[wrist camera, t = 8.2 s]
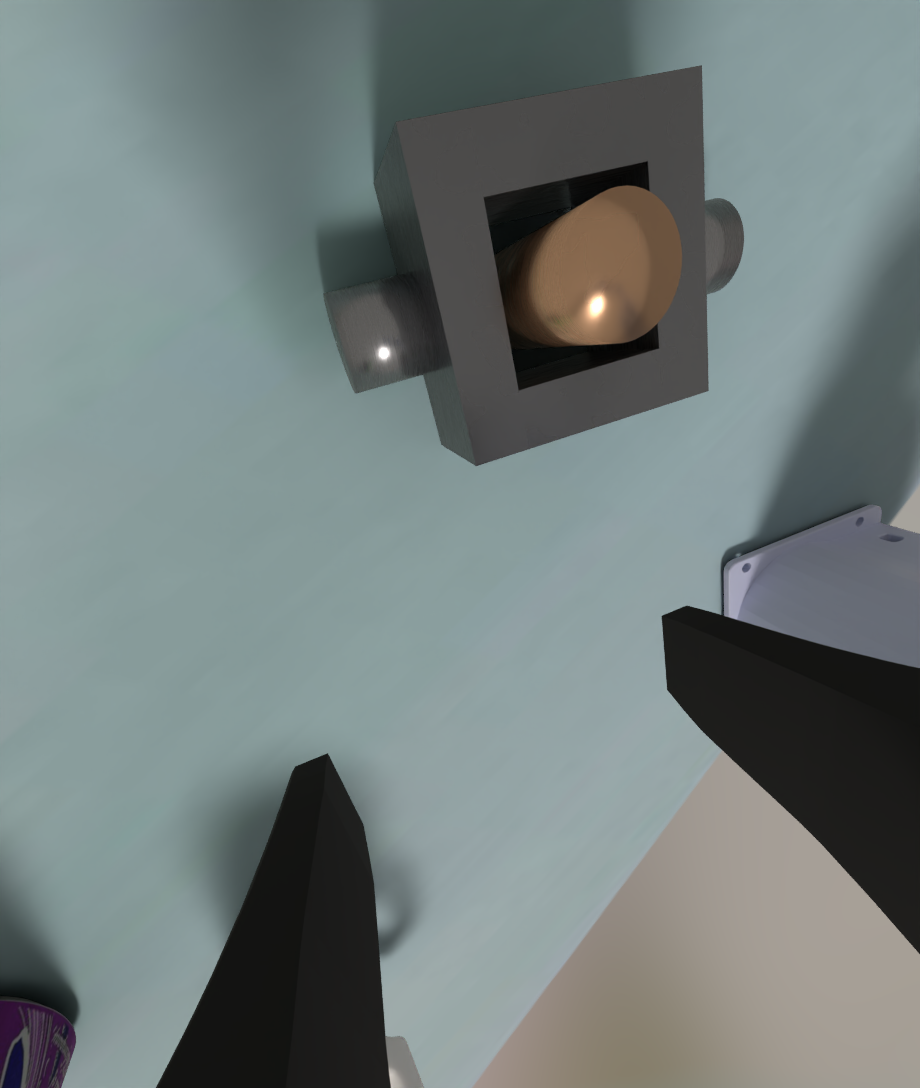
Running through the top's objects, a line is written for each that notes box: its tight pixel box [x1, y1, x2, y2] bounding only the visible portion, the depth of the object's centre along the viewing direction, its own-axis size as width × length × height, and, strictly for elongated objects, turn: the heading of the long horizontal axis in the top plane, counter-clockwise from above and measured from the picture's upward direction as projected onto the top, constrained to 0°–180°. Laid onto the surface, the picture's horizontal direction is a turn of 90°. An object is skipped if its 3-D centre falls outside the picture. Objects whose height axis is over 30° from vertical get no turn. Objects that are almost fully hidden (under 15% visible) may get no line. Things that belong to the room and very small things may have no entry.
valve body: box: [323, 65, 744, 466], centre depth 15 cm, size 13×8×4 cm, turn 104°
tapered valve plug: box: [494, 186, 682, 349], centre depth 14 cm, size 3×3×6 cm
